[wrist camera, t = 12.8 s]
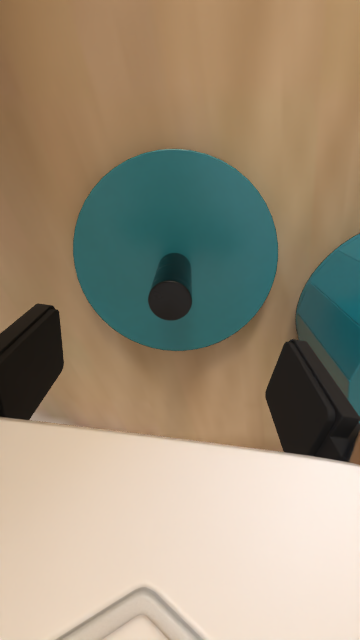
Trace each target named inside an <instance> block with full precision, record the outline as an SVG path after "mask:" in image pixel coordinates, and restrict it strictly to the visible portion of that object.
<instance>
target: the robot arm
mask: <svg viewBox="0 0 360 640" xmlns="http://www.w3.org/2000/svg"><path fill="white" fill-rule="evenodd" d="M63 365H64V361H63V350H62V339H61V328H60V317H59V311H58V310H55V308H54V306H52V305H44V304H36V305H35V306H34V307H32V308H31V309H30V310H29V311H27V312H26V313H25V314H24V315H23V316H21V317H20V318H19V319H18V320H16V321H15V322H14V323H13V324H12V325H10V326H9V327H8V328H7V329H5V330H4V331H3V332H2V333H1V334H0V640H360V423H359V421H360V416H359V415H358V414H357V412H356V411H355V409H354V408H353V406H352V405H351V404H350V402H349V401H348V399H347V398H346V396H345V395H344V394H343V392H342V391H341V389H340V388H339V387H338V385H337V384H336V382H335V381H334V379H333V378H332V377H331V375H330V374H329V372H328V371H327V369H326V368H325V367H324V365H323V364H322V362H321V361H320V360H319V358H318V357H317V355H316V354H315V352H314V351H313V350H312V348H311V347H310V345H309V344H308V343H307V342H306V341H301V340H294V339H291V340H290V341H289V342H286V343H285V344H284V346H283V349H282V351H281V354H280V356H279V359H278V361H277V364H276V366H275V369H274V371H273V374H272V376H271V379H270V381H269V384H268V387H267V389H266V400H267V403H268V406H269V409H270V412H271V415H272V418H273V421H274V424H275V427H276V430H277V433H278V436H279V439H280V442H281V445H282V448H283V451H284V452H279V451H271V450H264V449H256V448H249V447H241V446H233V445H226V444H218V443H211V442H203V441H195V440H187V439H179V438H171V437H163V436H155V435H147V434H139V433H131V432H123V431H115V430H107V429H99V428H90V427H82V426H74V425H65V424H57V423H49V422H40V421H30V420H29V419H30V418H31V416H32V415H33V413H34V412H35V410H36V409H37V407H38V406H39V404H40V403H41V401H42V400H43V398H44V397H45V395H46V394H47V392H48V391H49V389H50V388H51V386H52V385H53V383H54V382H55V381H56V379H57V378H58V376H59V375H60V373H61V371H62V369H63Z"/></svg>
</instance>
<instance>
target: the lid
mask: <svg viewBox="0 0 360 640" xmlns="http://www.w3.org/2000/svg"><path fill="white" fill-rule="evenodd" d="M73 255H74V263H75V269H76V273H77V277H78V280H79V283H80V285H81V288H82V290H83V292H84V294H85V296H86V298H87V300H88V301H89V303H90V304H91V306H92V307H93V309H94V310H95V311H96V313H97V314H98V315H99V316H100V317H101V318H102V319H103V320H104V321H105V322H106V323H107V324H108V325H109V326H110V327H112V328H113V329H114V330H116V331H117V332H118V333H120V334H121V335H123V336H125V337H127V338H128V339H130V340H132V341H135V342H137V343H139V344H142V345H145V346H148V347H152V348H156V349H162V350H171V351H185V350H193V349H199V348H203V347H207V346H210V345H213V344H215V343H218V342H220V341H222V340H224V339H226V338H228V337H230V336H231V335H233V334H234V333H236V332H237V331H239V330H240V329H241V328H242V327H243V326H245V325H246V324H247V323H248V322H249V321H250V320H251V319H252V318H253V317H254V316H255V314H256V313H257V312H258V310H259V309H260V308H261V306H262V305H263V303H264V301H265V300H266V298H267V296H268V294H269V292H270V289H271V287H272V284H273V281H274V277H275V274H276V269H277V261H278V242H277V235H276V229H275V226H274V222H273V219H272V216H271V214H270V211H269V209H268V207H267V205H266V203H265V201H264V200H263V198H262V197H261V195H260V194H259V192H258V190H257V189H256V188H255V187H254V186H253V185H252V184H251V182H250V181H249V180H248V179H247V178H246V177H245V176H243V175H242V174H241V173H240V172H239V171H237V170H236V169H235V168H233V167H232V166H230V165H228V164H227V163H225V162H223V161H222V160H220V159H217V158H215V157H212V156H210V155H208V154H204V153H200V152H196V151H192V150H183V149H165V150H156V151H152V152H147V153H143V154H140V155H138V156H135V157H133V158H131V159H128V160H126V161H125V162H123V163H121V164H120V165H118V166H116V167H115V168H114V169H112V170H111V171H110V172H109V173H108V174H106V175H105V176H104V177H103V178H102V179H101V180H100V181H99V182H98V183H97V185H96V186H95V187H94V188H93V189H92V191H91V192H90V194H89V196H88V197H87V199H86V200H85V202H84V204H83V207H82V209H81V211H80V213H79V216H78V220H77V223H76V227H75V233H74V240H73Z"/></svg>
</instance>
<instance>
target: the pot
mask: <svg viewBox="0 0 360 640" xmlns="http://www.w3.org/2000/svg"><path fill="white" fill-rule="evenodd" d="M296 330H297V334H298V339H299V340H301V341H306V342H307V343H308V344H309V345H310V347H311V348H312V350H313V351H314V352H315V354H316V355H317V357H318V358H319V360H320V361H321V362H322V364H323V365H324V367H325V368H326V369H327V371H328V372H329V374H330V375H331V377H332V378H333V379H334V381H335V382H336V384H337V385H338V387H339V388H340V389H341V391H342V392H343V394H344V395H345V396H346V398H347V399H348V401H349V402H350V404H351V405H352V406H353V408H354V409H355V411H356V412H357V414H358V415H359V416H360V233H359V234H358V235H356V236H354V237H352V238H351V239H349V240H348V241H346V242H345V243H343V244H342V245H340V246H339V247H338V248H337V249H336V250H334V251H333V252H332V253H331V254H330V255H329V256H328V257H327V258H326V259H325V260H324V261H323V262H322V263H321V264H320V265H319V266H318V267H317V269H316V270H315V271H314V273H313V274H312V275H311V277H310V278H309V280H308V282H307V283H306V285H305V287H304V289H303V291H302V293H301V296H300V299H299V302H298V305H297V311H296ZM359 423H360V421H359Z"/></svg>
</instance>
